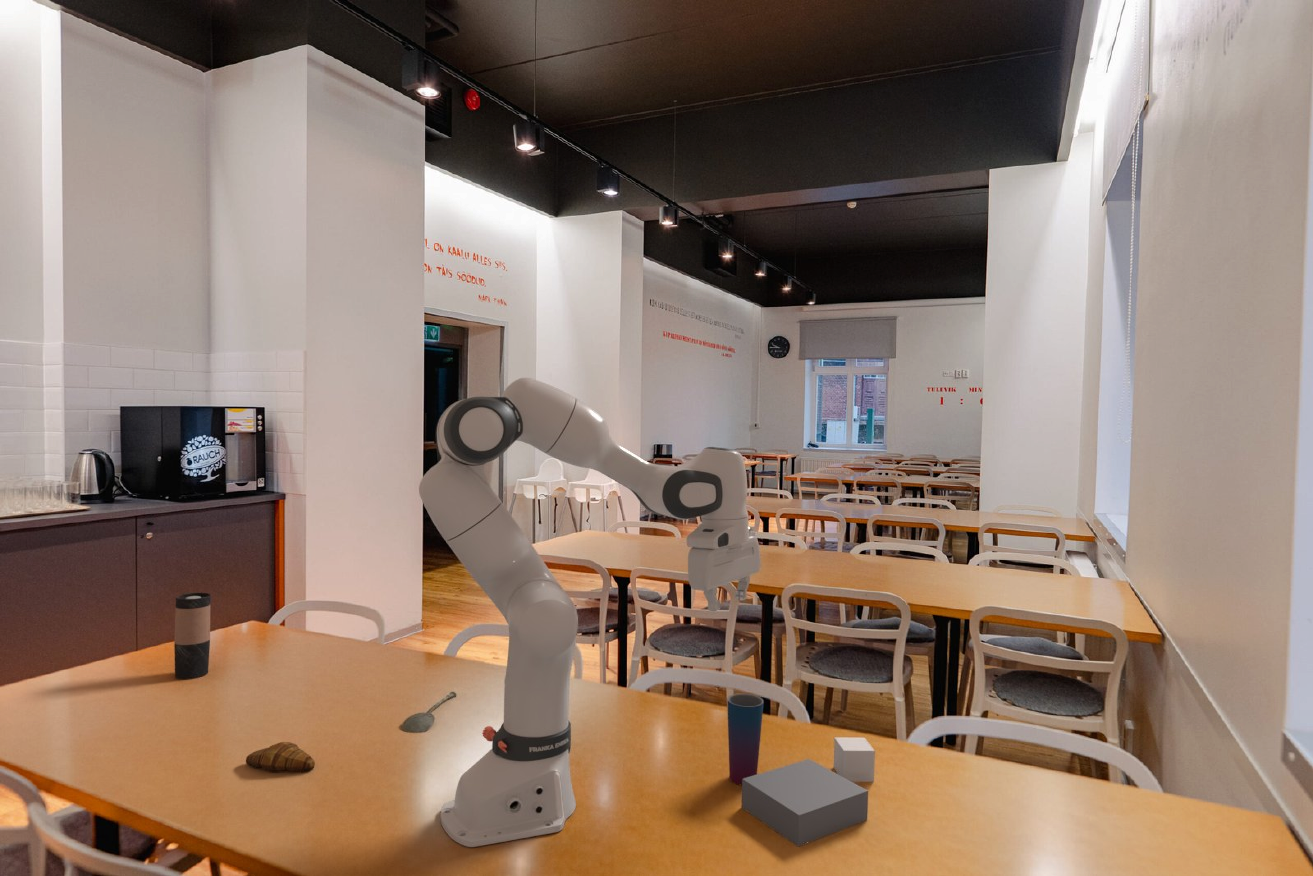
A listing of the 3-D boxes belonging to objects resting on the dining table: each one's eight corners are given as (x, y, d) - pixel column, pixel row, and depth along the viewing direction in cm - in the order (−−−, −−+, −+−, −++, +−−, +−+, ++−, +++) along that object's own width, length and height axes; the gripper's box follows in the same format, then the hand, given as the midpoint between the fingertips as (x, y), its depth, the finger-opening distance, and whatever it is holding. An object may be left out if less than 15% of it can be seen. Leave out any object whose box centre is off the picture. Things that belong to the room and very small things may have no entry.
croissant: (324, 764, 141) (325, 738, 141) (302, 780, 134) (303, 753, 134) (259, 757, 143) (260, 731, 143) (235, 773, 136) (235, 746, 136)
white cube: (863, 768, 146) (864, 737, 146) (874, 782, 140) (875, 750, 140) (833, 767, 145) (834, 737, 145) (842, 782, 139) (843, 750, 139)
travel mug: (215, 673, 188) (217, 595, 188) (183, 682, 182) (184, 600, 182) (199, 668, 192) (201, 591, 192) (167, 675, 186) (169, 596, 186)
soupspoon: (395, 737, 156) (424, 741, 155) (396, 721, 156) (425, 725, 155) (440, 696, 178) (466, 700, 177) (441, 682, 178) (467, 686, 177)
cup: (760, 790, 135) (762, 708, 135) (722, 785, 136) (725, 704, 136) (762, 773, 142) (764, 695, 142) (726, 769, 143) (729, 691, 143)
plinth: (798, 846, 117) (799, 815, 117) (741, 807, 129) (742, 779, 129) (867, 820, 126) (868, 790, 126) (808, 785, 137) (809, 758, 137)
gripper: (740, 524, 150) (742, 591, 151) (680, 538, 134) (683, 614, 134) (767, 525, 146) (769, 595, 147) (709, 541, 130) (712, 619, 131)
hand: (728, 604), depth 140 cm, fingers open, 8 cm apart
